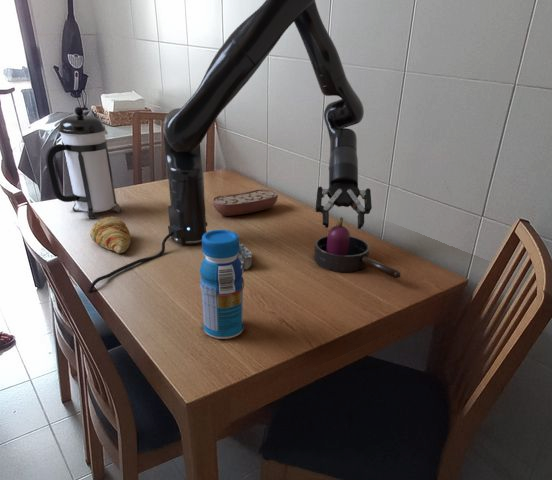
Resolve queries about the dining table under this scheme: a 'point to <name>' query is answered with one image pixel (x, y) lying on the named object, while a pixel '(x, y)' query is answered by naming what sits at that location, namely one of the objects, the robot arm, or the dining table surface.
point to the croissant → (111, 234)
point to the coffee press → (84, 164)
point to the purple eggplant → (338, 239)
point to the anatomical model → (245, 202)
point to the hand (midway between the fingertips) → (343, 227)
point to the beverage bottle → (222, 284)
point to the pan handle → (381, 267)
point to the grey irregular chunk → (244, 256)
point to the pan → (341, 256)
